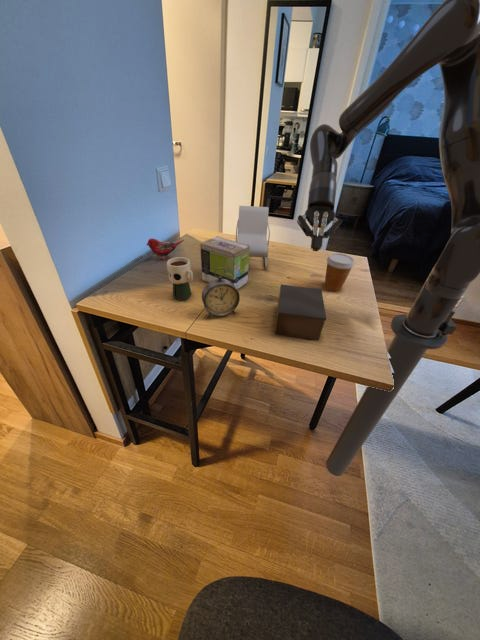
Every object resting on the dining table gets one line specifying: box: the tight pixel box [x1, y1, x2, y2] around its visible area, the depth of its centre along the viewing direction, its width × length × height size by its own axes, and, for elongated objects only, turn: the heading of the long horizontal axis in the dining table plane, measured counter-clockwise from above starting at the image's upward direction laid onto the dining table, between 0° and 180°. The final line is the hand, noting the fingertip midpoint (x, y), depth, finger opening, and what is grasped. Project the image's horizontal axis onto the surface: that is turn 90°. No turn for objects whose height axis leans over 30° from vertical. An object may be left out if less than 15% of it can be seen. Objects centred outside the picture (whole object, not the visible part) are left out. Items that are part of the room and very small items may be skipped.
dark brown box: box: [274, 292, 326, 341], centre depth 78 cm, size 15×13×8 cm
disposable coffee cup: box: [323, 252, 355, 293], centre depth 95 cm, size 10×10×12 cm
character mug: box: [166, 256, 194, 301], centre depth 85 cm, size 11×7×13 cm, turn 57°
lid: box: [278, 283, 327, 322], centre depth 75 cm, size 16×13×1 cm
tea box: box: [199, 235, 250, 290], centre depth 95 cm, size 15×10×15 cm
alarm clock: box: [201, 267, 241, 319], centre depth 77 cm, size 11×5×16 cm, turn 106°
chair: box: [235, 205, 271, 270], centre depth 110 cm, size 13×25×20 cm, turn 178°
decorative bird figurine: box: [146, 237, 185, 261], centre depth 110 cm, size 3×18×10 cm, turn 132°
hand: (315, 250), depth 73 cm, fingers closed
